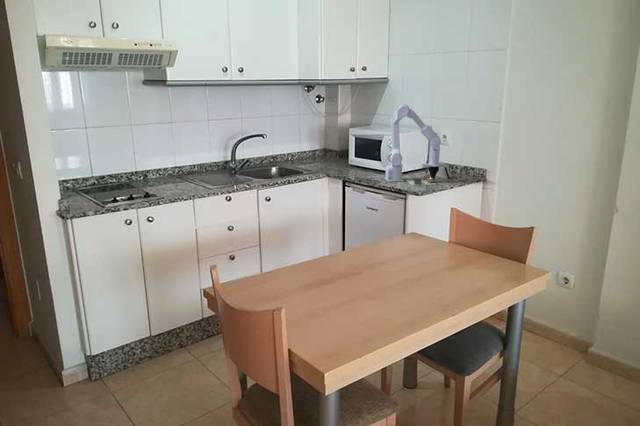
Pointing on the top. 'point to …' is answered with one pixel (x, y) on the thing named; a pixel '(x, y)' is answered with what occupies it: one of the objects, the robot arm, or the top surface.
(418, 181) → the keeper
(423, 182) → the base board
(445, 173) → the grey piece
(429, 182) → the link
